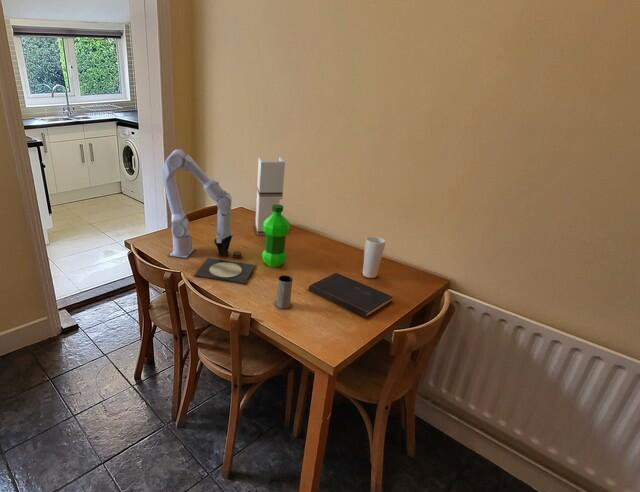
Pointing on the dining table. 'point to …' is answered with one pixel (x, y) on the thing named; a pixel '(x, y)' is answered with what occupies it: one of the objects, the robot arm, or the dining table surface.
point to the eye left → (225, 254)
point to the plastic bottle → (275, 237)
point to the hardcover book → (351, 294)
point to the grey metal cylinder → (284, 291)
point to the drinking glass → (372, 256)
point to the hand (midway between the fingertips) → (223, 252)
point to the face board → (225, 271)
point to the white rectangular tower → (268, 190)
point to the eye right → (237, 255)
